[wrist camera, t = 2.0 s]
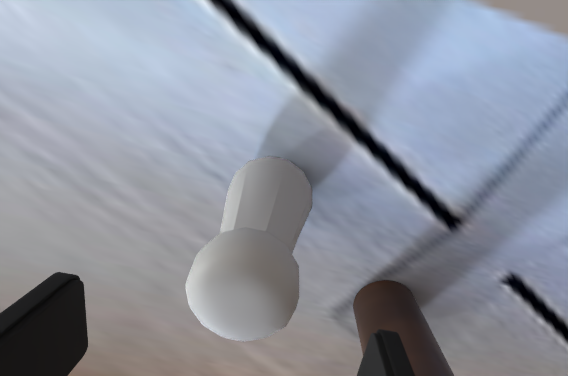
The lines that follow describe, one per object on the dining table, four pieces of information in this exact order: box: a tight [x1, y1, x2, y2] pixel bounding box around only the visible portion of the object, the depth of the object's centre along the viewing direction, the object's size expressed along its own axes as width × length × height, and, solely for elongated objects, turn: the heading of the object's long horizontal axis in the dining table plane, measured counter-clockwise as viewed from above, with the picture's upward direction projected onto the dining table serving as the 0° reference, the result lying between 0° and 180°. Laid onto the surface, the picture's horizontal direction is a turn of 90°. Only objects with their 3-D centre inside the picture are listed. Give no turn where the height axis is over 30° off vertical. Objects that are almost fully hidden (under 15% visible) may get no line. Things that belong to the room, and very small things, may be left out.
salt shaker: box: [185, 156, 312, 342], centre depth 16 cm, size 6×6×13 cm
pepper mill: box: [353, 280, 454, 376], centre depth 20 cm, size 5×5×11 cm
